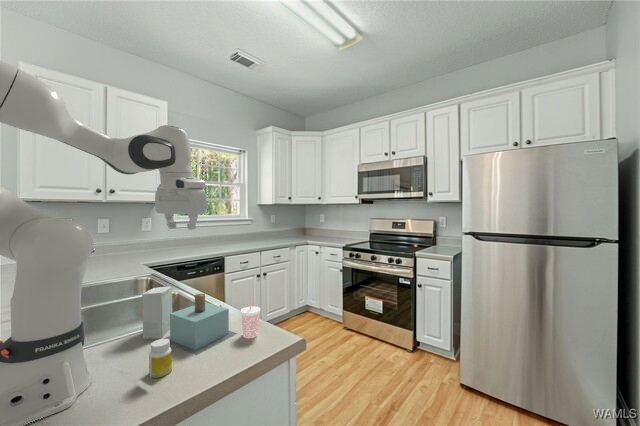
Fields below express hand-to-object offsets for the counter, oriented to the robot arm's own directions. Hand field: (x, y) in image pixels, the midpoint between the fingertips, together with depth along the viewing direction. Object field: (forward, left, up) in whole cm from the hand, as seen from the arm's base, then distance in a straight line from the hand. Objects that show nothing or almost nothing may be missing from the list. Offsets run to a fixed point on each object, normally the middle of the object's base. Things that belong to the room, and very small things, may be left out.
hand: (181, 228), depth 85 cm
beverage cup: (+12, -16, -35) cm, 41 cm away
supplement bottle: (-14, -12, -35) cm, 39 cm away
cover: (+3, -4, -34) cm, 34 cm away
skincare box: (-2, +10, -35) cm, 36 cm away
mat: (+3, -4, -35) cm, 35 cm away
